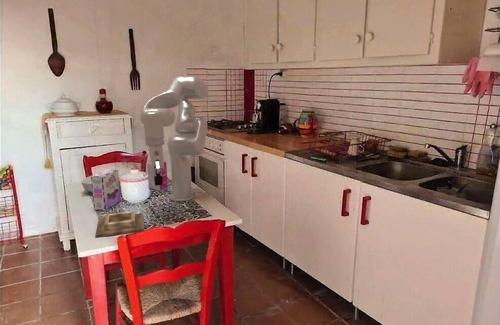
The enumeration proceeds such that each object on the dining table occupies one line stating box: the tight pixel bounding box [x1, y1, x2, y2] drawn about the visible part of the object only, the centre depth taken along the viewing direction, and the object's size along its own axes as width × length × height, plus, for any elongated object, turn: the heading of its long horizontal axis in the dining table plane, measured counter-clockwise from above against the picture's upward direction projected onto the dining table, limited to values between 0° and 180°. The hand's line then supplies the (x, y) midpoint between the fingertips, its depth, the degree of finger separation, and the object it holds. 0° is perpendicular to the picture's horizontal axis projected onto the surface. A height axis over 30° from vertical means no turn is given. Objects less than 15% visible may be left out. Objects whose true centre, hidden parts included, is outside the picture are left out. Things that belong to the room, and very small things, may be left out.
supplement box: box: [146, 161, 169, 192], centre depth 156 cm, size 6×6×12 cm
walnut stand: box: [95, 210, 145, 238], centre depth 152 cm, size 18×18×4 cm
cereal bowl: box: [81, 175, 93, 193], centre depth 196 cm, size 17×17×7 cm
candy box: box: [90, 168, 122, 212], centre depth 174 cm, size 14×6×16 cm, turn 168°
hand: (158, 181), depth 157 cm, fingers closed on supplement box, 7 cm apart
